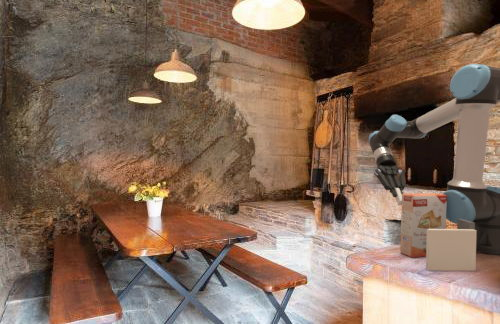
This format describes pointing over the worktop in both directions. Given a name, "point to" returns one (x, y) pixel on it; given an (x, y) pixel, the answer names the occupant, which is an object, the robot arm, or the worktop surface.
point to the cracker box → (420, 220)
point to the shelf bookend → (452, 248)
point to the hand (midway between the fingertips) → (401, 203)
